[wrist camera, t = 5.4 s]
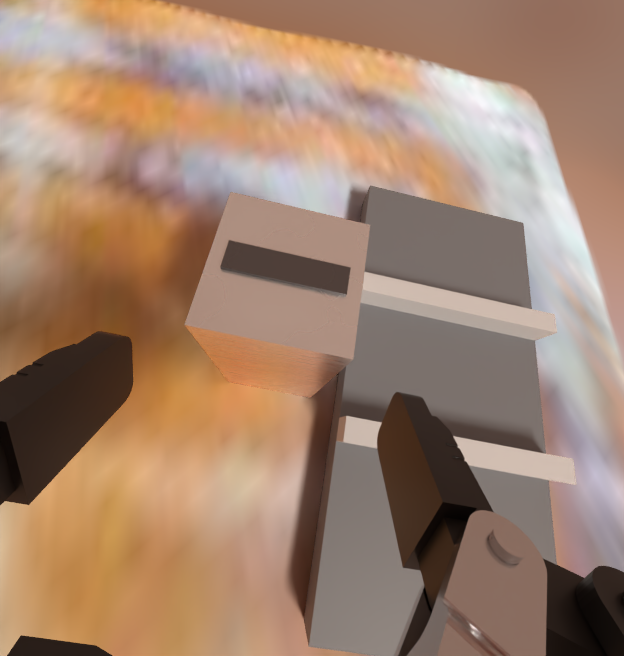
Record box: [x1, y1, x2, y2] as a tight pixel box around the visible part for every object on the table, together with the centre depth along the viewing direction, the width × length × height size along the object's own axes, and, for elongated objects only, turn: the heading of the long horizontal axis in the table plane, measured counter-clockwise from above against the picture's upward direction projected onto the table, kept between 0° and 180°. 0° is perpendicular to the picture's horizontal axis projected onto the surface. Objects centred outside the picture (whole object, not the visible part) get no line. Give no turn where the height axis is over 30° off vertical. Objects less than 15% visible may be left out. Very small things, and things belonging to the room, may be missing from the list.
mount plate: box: [304, 186, 576, 656], centre depth 18 cm, size 12×26×4 cm, turn 170°
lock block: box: [184, 192, 370, 398], centre depth 14 cm, size 5×5×10 cm
